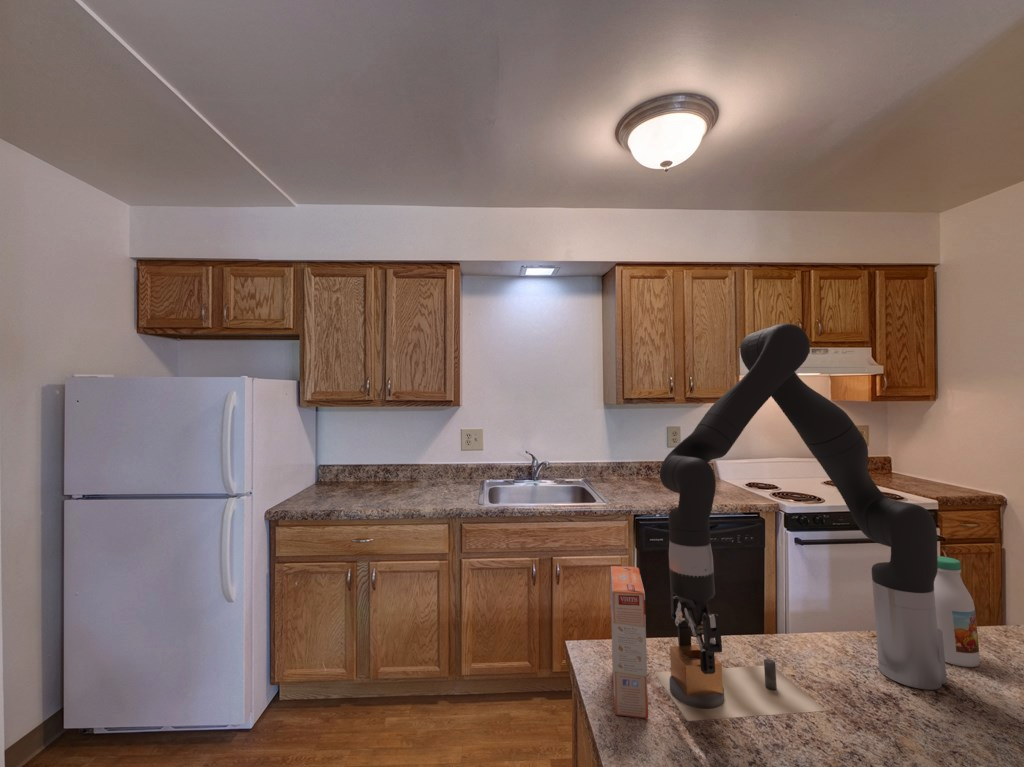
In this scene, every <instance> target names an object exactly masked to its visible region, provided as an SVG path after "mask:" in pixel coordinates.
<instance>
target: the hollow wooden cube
mask: <svg viewBox="0 0 1024 767" xmlns="http://www.w3.org/2000/svg"><path fill="white" fill-rule="evenodd" d="M669 653H670V655H669V656H670V658H669V660H670V672H671V675H672V677H673V678H674V679H675V681H676V682H677V683H678V685H679V686H680V687H681V689H682V690H683V691H684V693H685V694H686V695H687V696H695V695H710V694H723V684H722V668H723V666H722V662H721V661H720V660H719V659H718V658H717V657H716V656H715V655H714V657H715V673H713V674H704V673H703V672H702V671H701V664H700V647H699V644H697V645H696V644H695V645H691V646H679V645H678V646H669ZM691 658H696V659H699V660H690V659H691Z"/></svg>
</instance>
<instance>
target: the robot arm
mask: <svg viewBox="0 0 1024 767" xmlns="http://www.w3.org/2000/svg"><path fill="white" fill-rule="evenodd" d="M810 348H811V343H810V339H809V336H808V335H807V332H806V331H805V330H804V329H802V328H801V327H800V326H799V325H797V324H792V323H781V324H775V325H772V326H768V327H766V328H763V329H760V330H757V331H755V332H752V333H749V334H747V335H746V336H745V337H744V338H743V339H742V341H741V343H740V347H739V354H740V357H741V361H742V363H743V364H744V366H745V368H746V369H747V370H748V372H746V374H745V375H744V376H743V377H742V378H741V379H740V380H739V381H737V383H736V384H734V385H733V386H732V387H731V388H730V389H729V390H727V391H726V392H725V393H723V395H722V396H720V397H719V399H717V400H716V401H714V403H713V405H711V406H710V408H709V409H708V410H707V411H706V413H705V414H704V416H703V417H702V418H701V420H700V421H699V422H698V424H697V425H696V426H695V428H694V430H693V431H692V432H691V433H690V434H689V435H688V436H687V437H685V438H684V439H683V440H682V441H681V442H680V443H679V444H677V446H675V447H674V448H673V449H672V450H671V451H670V452H669V453H668V454H667V456H666V457H665V458H664V460H663V462H662V463H661V466H660V468H659V469H660V470H659V479H660V482H661V483H662V485H663V486H664V487H665V488H666V489H667V490H669V491H671V492H673V493H677V494H679V498H678V505H677V507H674V508H672V509H671V510H670V511H669V513H668V535H669V537H668V539H669V546H668V568H669V569H668V570H669V583H670V584H669V585H670V591H669V592H670V616H671V618H672V619H673V620H674V619H675V621H674V623H675V626H676V627H677V640H678V641H677V642H678V643H677V644H678V646H692V636H694V638H696V639H697V645H699V647H700V664H701V671H702V672H703V673H704V674H713V673H715V657H716V656H715V653H723V645H722V644H723V643H722V633H721V621H720V616H719V613H710V609H709V604H708V602H709V601H710V600H711V599H713V598H714V596H715V595H716V589H715V588H716V586H715V571H714V555H713V551H712V550H713V549H712V545H711V544H712V542H711V529H710V526H711V525H710V519H711V518H710V516H711V514H712V511H713V510H712V509H713V504H714V499H715V495H716V485H717V483H716V475H715V472H714V469H713V468H712V466H711V465H710V464H709V462H711V461H713V460H717V459H721V458H723V457H725V456H726V455H727V454H728V453H729V451H730V450H731V449H732V447H733V446H734V444H735V442H737V440H738V439H739V437H740V436H741V435H742V433H743V432H744V430H745V428H746V427H747V425H748V424H749V423H750V421H751V420H752V419H753V418H754V417H755V415H757V412H758V411H759V410H760V409H761V408H762V407H763V406H764V405H765V403H766V402H767V401H768V400H769V399H770V398H772V399H773V400H774V402H775V403H776V404H777V406H778V407H779V409H781V411H782V412H783V414H784V415H785V417H786V418H787V419H788V421H789V423H791V425H792V426H793V427H794V429H795V430H796V433H797V434H798V435H799V437H800V438H801V440H802V441H803V442H804V445H805V446H806V447H807V448H808V450H809V451H810V452H811V454H812V455H813V457H815V460H817V462H818V463H819V465H820V466H821V467H822V469H823V471H824V472H825V473H826V475H827V476H828V478H829V479H830V481H831V482H832V483H833V485H834V487H835V488H836V490H837V491H838V492H839V495H840V496H841V497H842V499H843V501H844V503H845V505H846V507H847V508H848V511H849V512H850V514H851V516H852V518H853V520H854V521H855V523H856V525H857V527H858V528H859V529H860V531H861V532H862V533H863V534H864V536H865V537H867V538H868V539H869V540H871V541H872V542H875V543H876V544H880V545H883V546H886V547H890V559H889V562H888V561H885V562H876V563H874V564H873V565H871V566H872V567H871V578H872V579H871V582H872V594H873V608H874V610H873V611H874V623H875V635H876V649H877V650H876V652H877V661H878V662H877V663H878V670H879V672H880V673H882V675H884V676H886V678H888V679H890V680H892V681H895V682H896V683H899V684H902V685H903V686H907V687H910V688H915V689H921V690H931V691H932V690H938V689H940V688H942V685H944V684H947V683H948V682H947V681H948V680H947V670H946V662H945V655H944V643H943V633H942V631H941V630H940V629H938V628H937V618H936V606H935V595H934V580H935V577H936V575H937V570H938V560H937V556H938V531H937V527H936V526H937V525H936V522H935V519H934V517H933V515H932V514H931V512H930V511H929V510H928V509H926V508H925V507H923V506H921V505H919V504H915V503H911V502H906V501H900V500H896V499H890V498H888V497H887V496H886V495H884V493H883V492H882V491H881V490H880V489H879V487H878V486H877V485H876V483H875V482H874V480H873V479H872V477H871V475H870V472H869V468H868V465H869V449H868V444H867V441H866V440H865V437H864V436H863V433H861V431H860V430H859V428H858V427H857V425H856V424H855V422H854V421H853V420H852V419H851V417H850V416H849V415H848V413H846V411H845V410H843V409H842V408H841V407H840V406H838V404H836V403H834V402H833V401H831V400H830V399H828V398H827V397H826V396H824V395H822V394H821V393H819V392H817V391H815V390H814V389H813V388H811V386H809V385H808V384H807V383H805V382H804V381H803V380H802V379H801V378H800V376H798V375H797V373H796V371H798V370H799V369H800V368H801V366H802V365H803V364H804V363H805V362H806V361H807V358H808V356H809V354H810V351H811V350H810ZM714 656H715V657H714Z"/></svg>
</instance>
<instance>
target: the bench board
mask: <svg viewBox="0 0 1024 767" xmlns="http://www.w3.org/2000/svg"><path fill="white" fill-rule="evenodd" d="M690 660H699V659H696V658H691V659H690ZM653 674H654V675H655V677H656V678H657V679H658V681H659V683H661V685H662V686H663V687H664V689H665V691H666V692H667V694H668V695H669V696H670V698H671V699H672V701H673V702H674V703H675V705H676V707H677V708H678V709H679V711H680V712H681V714H682V715H683V716H684V718H685V720H686V721H687V722H695V721H696V722H697V721H706V720H707V721H711V720H721V719H734V718H736V719H737V718H747V717H748V718H749V717H763V716H764V717H765V716H776V715H777V716H779V715H788V714H789V715H790V714H802V713H803V714H804V713H815V712H819V713H820V712H827V711H828V710H827V709H826V708H824V707H823V706H822V705H821V704H819V703H818V701H817V700H815V699H814V698H812V697H811V696H810V695H809V694H808V693H806V691H804V690H803V689H802V688H801V687H799V686H798V685H797V684H796V683H795V682H793V681H792V680H791V679H790V678H788V677H787V676H786V675H785V673H782V672H781V671H780V670H779V669H778V668H777V667H776V661H774V660H773V659H770V658H765V659H763V665H752V666H737V667H722V684H723V694H710V695H695V696H687V695H686V694H685V693H684V691H683V690H682V689H681V687H680V686H679V685H678V683H677V682H676V681H675V679H674V678H673V677H672V675H671V671H658V672H657V671H656V672H653Z"/></svg>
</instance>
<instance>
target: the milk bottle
mask: <svg viewBox="0 0 1024 767" xmlns="http://www.w3.org/2000/svg"><path fill="white" fill-rule="evenodd" d="M937 560H938V570H937V575H936V577H935V580H934V595H935V606H936V618H937V628H938V629H940V630H941V631H942V633H943V643H944V655H945V663H947V664H951V665H955V666H958V667H959V666H960V667H966V668H975V667H978V666H980V662H981V659H980V648H979V647H980V646H979V634H978V625H977V624H978V623H977V616H976V608H975V604H974V600H973V597H972V595H971V594H970V592H969V590H968V588H967V587H966V586H965V584H964V582H963V579H962V577H961V573H962V570H961V569H962V564H961V561H960V560H958V559H956V558H951V557H947V556H940V555H939V556H938V555H937Z"/></svg>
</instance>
